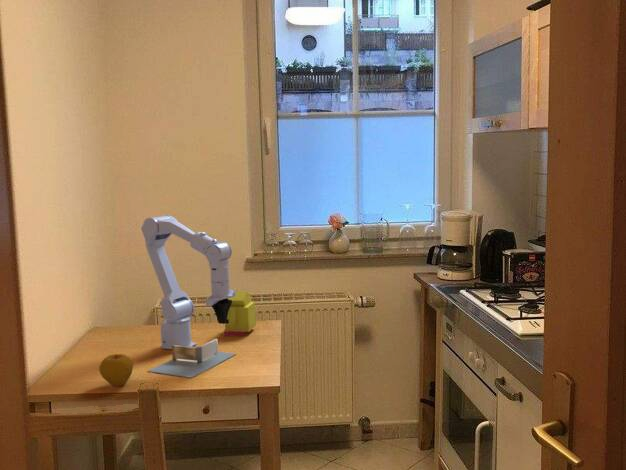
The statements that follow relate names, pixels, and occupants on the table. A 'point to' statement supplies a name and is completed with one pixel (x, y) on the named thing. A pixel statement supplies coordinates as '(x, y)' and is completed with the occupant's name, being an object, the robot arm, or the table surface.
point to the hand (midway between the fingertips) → (222, 323)
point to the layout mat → (190, 365)
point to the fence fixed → (207, 350)
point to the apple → (116, 369)
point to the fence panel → (184, 352)
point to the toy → (240, 315)
